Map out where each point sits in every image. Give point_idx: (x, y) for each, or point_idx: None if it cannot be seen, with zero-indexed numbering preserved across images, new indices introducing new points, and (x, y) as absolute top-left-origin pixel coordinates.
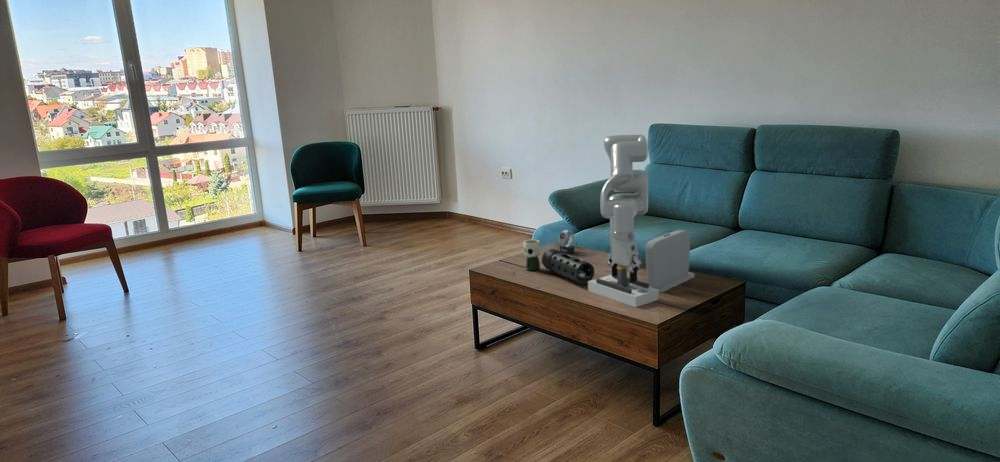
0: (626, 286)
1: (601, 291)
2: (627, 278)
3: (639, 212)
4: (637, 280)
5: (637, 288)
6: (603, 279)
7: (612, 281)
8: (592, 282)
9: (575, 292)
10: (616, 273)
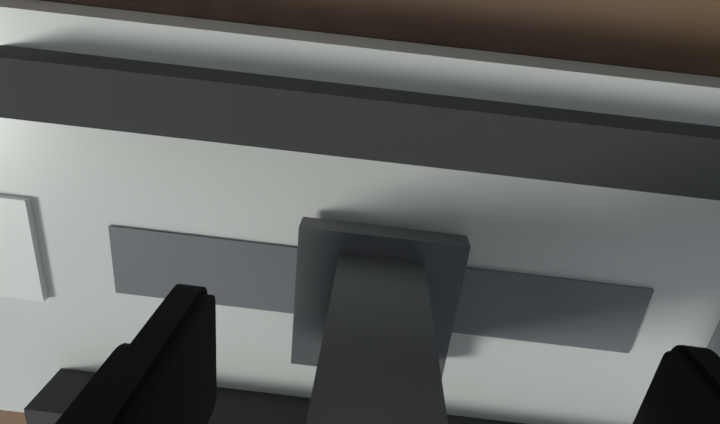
0: (463, 302)
1: None
2: (338, 153)
3: None
4: (570, 134)
5: (645, 271)
6: (1, 264)
7: (153, 249)
8: (21, 408)
9: (5, 412)
10: (196, 373)
